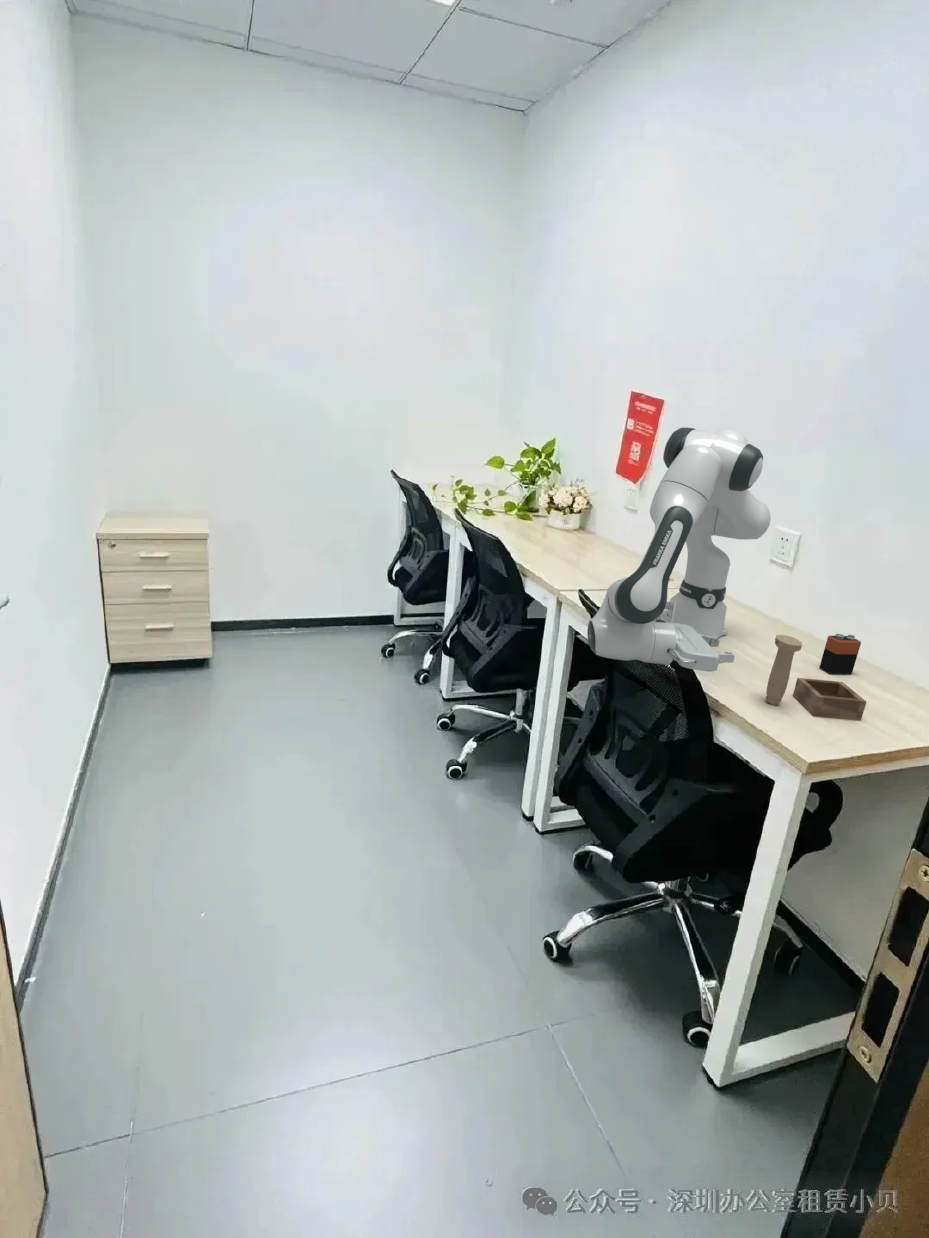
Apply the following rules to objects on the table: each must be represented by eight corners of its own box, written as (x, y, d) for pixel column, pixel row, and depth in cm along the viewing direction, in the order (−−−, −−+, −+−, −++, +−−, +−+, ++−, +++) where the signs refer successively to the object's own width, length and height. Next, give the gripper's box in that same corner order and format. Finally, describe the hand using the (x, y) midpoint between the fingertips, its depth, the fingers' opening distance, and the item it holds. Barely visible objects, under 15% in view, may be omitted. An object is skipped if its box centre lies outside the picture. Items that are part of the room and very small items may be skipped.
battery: (818, 668, 179) (828, 631, 176) (840, 668, 180) (851, 632, 177) (829, 674, 175) (840, 638, 172) (852, 675, 176) (863, 638, 173)
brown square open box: (792, 695, 160) (797, 677, 158) (837, 699, 160) (842, 681, 158) (813, 716, 150) (818, 697, 148) (860, 720, 150) (866, 701, 148)
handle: (777, 697, 158) (793, 635, 153) (789, 710, 152) (806, 646, 147) (756, 695, 158) (771, 634, 153) (767, 708, 151) (784, 644, 147)
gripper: (678, 646, 139) (746, 653, 140) (653, 615, 159) (713, 621, 159) (672, 675, 141) (739, 682, 142) (648, 641, 161) (707, 647, 161)
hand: (725, 650), depth 150 cm, fingers open, 8 cm apart
